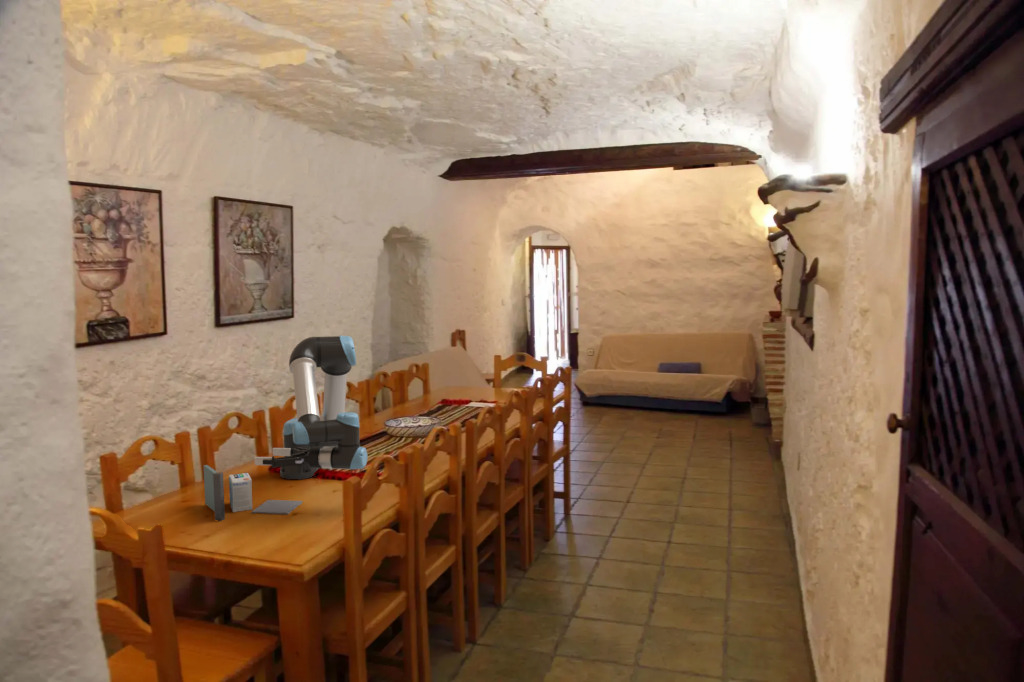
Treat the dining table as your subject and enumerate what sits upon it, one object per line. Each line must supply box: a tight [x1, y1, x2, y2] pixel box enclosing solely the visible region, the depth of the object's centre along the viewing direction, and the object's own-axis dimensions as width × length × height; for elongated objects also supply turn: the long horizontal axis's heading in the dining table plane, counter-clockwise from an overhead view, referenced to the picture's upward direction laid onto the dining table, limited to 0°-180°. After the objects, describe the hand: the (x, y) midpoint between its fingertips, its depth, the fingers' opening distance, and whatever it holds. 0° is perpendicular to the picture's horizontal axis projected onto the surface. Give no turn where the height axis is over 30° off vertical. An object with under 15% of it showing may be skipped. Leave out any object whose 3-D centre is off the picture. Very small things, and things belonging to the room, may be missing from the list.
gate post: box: [213, 471, 226, 522], centre depth 239 cm, size 2×2×16 cm
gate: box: [203, 464, 218, 513], centre depth 248 cm, size 18×1×14 cm, turn 39°
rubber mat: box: [251, 499, 304, 516], centre depth 252 cm, size 13×13×1 cm
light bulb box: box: [228, 472, 253, 513], centre depth 253 cm, size 11×7×11 cm, turn 27°
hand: (264, 456), depth 251 cm, fingers open, 13 cm apart
